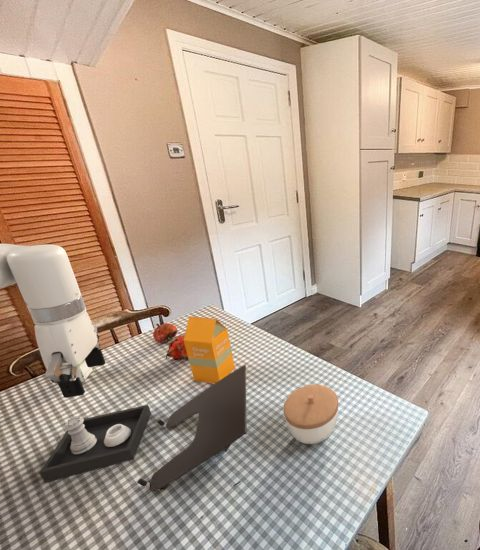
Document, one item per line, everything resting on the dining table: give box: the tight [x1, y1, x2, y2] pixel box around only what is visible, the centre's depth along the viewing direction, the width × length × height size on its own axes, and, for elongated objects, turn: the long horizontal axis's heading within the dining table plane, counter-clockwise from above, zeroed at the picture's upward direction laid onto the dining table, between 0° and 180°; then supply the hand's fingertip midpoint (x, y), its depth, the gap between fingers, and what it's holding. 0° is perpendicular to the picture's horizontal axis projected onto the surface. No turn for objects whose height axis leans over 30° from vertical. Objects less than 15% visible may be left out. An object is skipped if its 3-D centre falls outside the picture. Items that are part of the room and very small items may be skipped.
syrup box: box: [62, 359, 94, 383], centre depth 89 cm, size 6×6×14 cm
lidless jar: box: [104, 424, 131, 447], centre depth 71 cm, size 5×3×5 cm
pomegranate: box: [152, 322, 178, 344], centre depth 108 cm, size 7×7×10 cm
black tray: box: [38, 404, 152, 484], centre depth 70 cm, size 16×14×3 cm
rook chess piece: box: [63, 415, 97, 454], centre depth 68 cm, size 4×4×8 cm
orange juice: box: [184, 316, 236, 384], centre depth 90 cm, size 8×9×20 cm
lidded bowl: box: [283, 383, 339, 445], centre depth 72 cm, size 13×13×11 cm
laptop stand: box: [137, 364, 248, 493], centre depth 71 cm, size 23×23×9 cm
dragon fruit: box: [165, 332, 188, 362], centre depth 101 cm, size 8×8×12 cm
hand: (86, 379), depth 65 cm, fingers open, 9 cm apart
